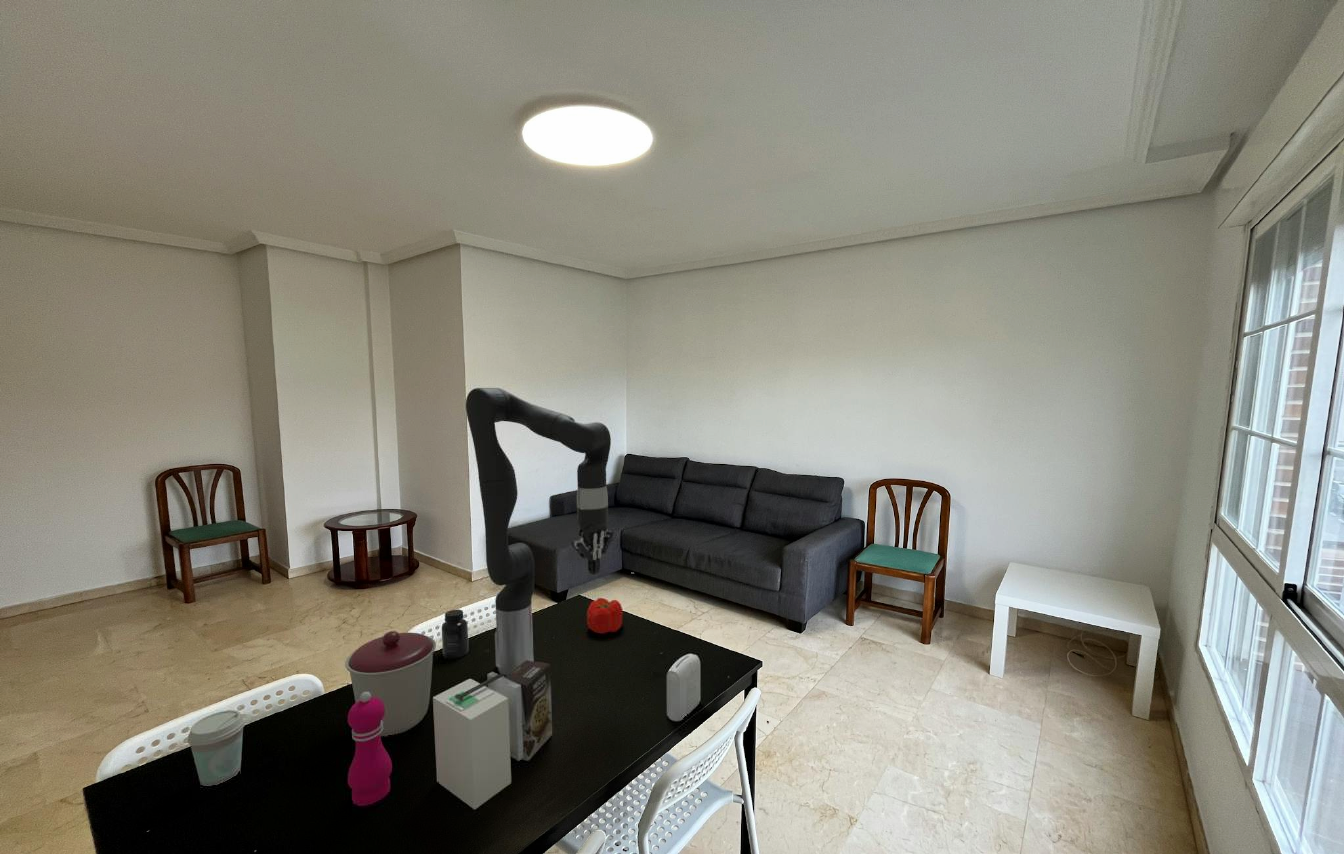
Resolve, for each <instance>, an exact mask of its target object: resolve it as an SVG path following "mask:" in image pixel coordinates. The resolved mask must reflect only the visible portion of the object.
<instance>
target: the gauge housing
mask: <svg viewBox="0 0 1344 854" xmlns="http://www.w3.org/2000/svg"><path fill="white" fill-rule="evenodd" d="M479 684H481V683H480V682H478V681H476V680H474V679H471V678H469V679H466V680H464V681H463V682H461V683H458V684H456V685H455V686H452V687H451V688H448V689H446V690H445V691H443V692H441V693H438V694H436V695H435V696H433V697H432V704H433V705H432V706H433V725H434V726H433V728H434V746H435V747H434V748H435V763H436V765H435V767H436V782H437V783H438V782H439V783H438V784H440V785H441V786H442V787H444V788H445V789H446V790H447V791H449V792H451V794H453V795H454V796H456V797H457V798H458V799H460V800H461V801H462V802H463V803H465V804H467V805H468V806H469V807H470V808H472V809H473V810H476V809H478V808H479V807H480V806H482V805H483V804H485V803H486V802H487V801H488V800H490V799H491V798H492V797H494V796H495V795H497V794H498V793H499V792H501V791H502V790H503V789H505V788H506V787H507V786H509V785H511V784H512V769H511V768H512V767H511V756H510V737H509V711H508V698H507V697H505V696H503V695H501V694H499V693H497V692H495V691H493V690H491V689H489V688H488V686H484V687H482V688H480V689H478V690H476V691H474V692H472V693H471V694H469V695H467V696H465V697H463V700H461V701H460V700H458V699H456V698H455V695H457V694H459V695H460V694H462V693H464V692H466V691H468V690H469V689H471V688H473V687H475V686H477V685H479Z"/></svg>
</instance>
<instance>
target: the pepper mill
mask: <svg viewBox="0 0 1344 854" xmlns="http://www.w3.org/2000/svg"><path fill="white" fill-rule="evenodd" d="M384 715H385V706H384V703H383V702H382V701H381V700H380V699H378V698H376V697H371V694H370V693H369V692H364V693H362V694H361V696H360V700H359V701H358V702H356V701H355V703H354V704H353V705H352V706H351V707H350V709H349V711H348V714H347V723H348V725H349V727H350V728H351V734H352V735H351V737H352V740H354V741H355V751H354V757H353V759H352V762H351V764H350V766H349V769H348V773H347V784H348V786H349V788H350V789H352V790H351V799H352V800H351V801H353V802H352V804H353V803H354V804H357V805H358V806H365V805H366V806H367V805H369V804H370V805H371V804H373V803H375V802H377V801H379V800H381V799H382V798H384V797H385V796H386V795H387V794H388V795H389V793H390V791H391V779H390V775H391V773H392V772H393V771H392V770H393V764H392V759H391V757H390V755H389V753H388V752H387V750H386V748H385V747H384V745H383V743H382V738H381V737H382V736H381V732H382V730H383V726H382V725H383V722H382V719H383V717H384ZM388 792H389V793H388ZM388 795H387V796H388ZM387 796H386V797H387ZM386 797H385V798H386ZM385 798H384V799H385ZM354 804H353V805H354ZM371 806H372V805H371ZM367 807H368V806H367Z"/></svg>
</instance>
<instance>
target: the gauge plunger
mask: <svg viewBox="0 0 1344 854" xmlns="http://www.w3.org/2000/svg"><path fill="white" fill-rule="evenodd" d="M486 675H487V677H486V678H487V680H485V681H483V682H481V683H480V684H479V685H477V686H475V687H473V688H471V689H469V690H468V691H466V692H464V693H462V694H460V695H459V694H457V695H455V698H456V699H458V700H460V701H461V700H463V697H465V696H467V695H469V694H471V693H472V692H474V691H476V690H478V689H480V688H482V687H484V686H485V687H487V688H489V689H491V690H493V691H495V692H497V693H499V694H501V695H503V696H505V697H507V698H508V711H509V737H510V758H513V759H514V760H515V761H518V762H519V761H520V760H522V758H523V734H522V707H521V685H519V684H517V683H515V682H512V681H510V680H508V679H506V678H505V675H504V674H502V673H500V672H499V674H498V673H496V672H494V671H491V672H489V673H487V674H486Z"/></svg>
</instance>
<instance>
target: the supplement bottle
mask: <svg viewBox="0 0 1344 854" xmlns="http://www.w3.org/2000/svg"><path fill="white" fill-rule="evenodd" d="M441 643H442V646H441V647H442V655H443V657H444V658H445V659H447V658H448V659H449V660H454V659H455V660H456V659H459V657H460V658H463V657H465V656H466V655H467V654H468V653H469V650H470V649H469V630H468V621H467V620H466V619H464V611H463V609H458V608H457V609H451V610H450V609H449V611H448V610H447V611H446V612H445V613H444V622H443V624H442V625H441Z"/></svg>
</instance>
